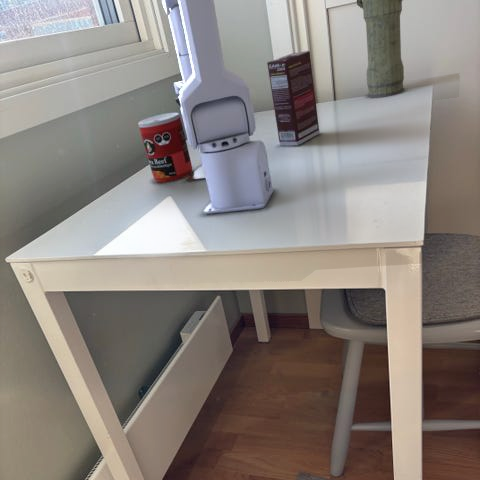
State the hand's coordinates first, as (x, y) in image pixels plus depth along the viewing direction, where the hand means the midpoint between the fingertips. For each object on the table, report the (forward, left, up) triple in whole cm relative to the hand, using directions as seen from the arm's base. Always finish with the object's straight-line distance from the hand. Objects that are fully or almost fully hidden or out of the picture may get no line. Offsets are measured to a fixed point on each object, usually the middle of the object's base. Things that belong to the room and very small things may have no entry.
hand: (211, 133), depth 94 cm
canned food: (+9, 0, -7) cm, 12 cm away
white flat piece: (0, 0, -7) cm, 7 cm away
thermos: (-30, -52, -7) cm, 61 cm away
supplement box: (-14, -15, -7) cm, 21 cm away
